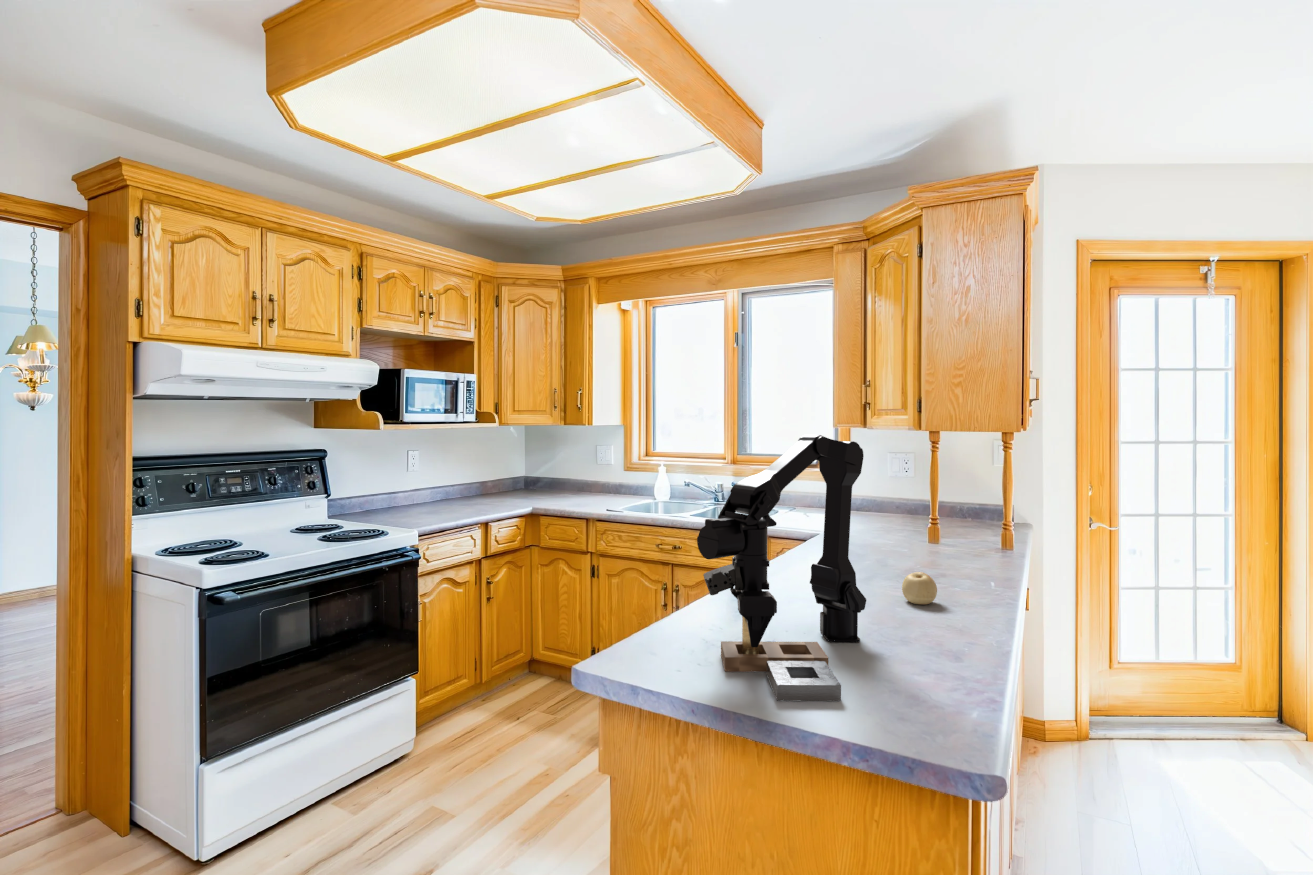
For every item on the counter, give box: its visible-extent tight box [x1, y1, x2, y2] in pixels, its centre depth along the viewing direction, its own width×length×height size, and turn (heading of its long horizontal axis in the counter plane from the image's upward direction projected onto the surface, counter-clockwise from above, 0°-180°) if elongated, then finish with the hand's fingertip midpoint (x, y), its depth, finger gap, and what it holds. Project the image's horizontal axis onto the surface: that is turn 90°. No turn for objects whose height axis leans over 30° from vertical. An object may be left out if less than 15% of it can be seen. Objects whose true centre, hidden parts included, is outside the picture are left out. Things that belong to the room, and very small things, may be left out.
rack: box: [720, 640, 829, 673], centre depth 115 cm, size 18×8×2 cm, turn 89°
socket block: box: [766, 661, 842, 702], centre depth 105 cm, size 10×10×2 cm
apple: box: [901, 571, 938, 606], centre depth 154 cm, size 8×8×8 cm
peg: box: [741, 615, 759, 654], centre depth 115 cm, size 3×3×9 cm
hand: (750, 638), depth 115 cm, fingers open, 9 cm apart
